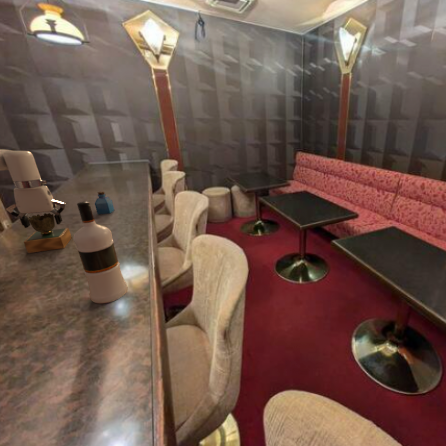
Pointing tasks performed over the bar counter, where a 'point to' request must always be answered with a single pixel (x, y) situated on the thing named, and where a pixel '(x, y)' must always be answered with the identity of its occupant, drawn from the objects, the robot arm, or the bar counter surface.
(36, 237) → the riser
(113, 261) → the vodka
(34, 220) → the cup
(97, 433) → the bar counter surface
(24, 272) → the bar counter surface
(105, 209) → the perfume bottle
